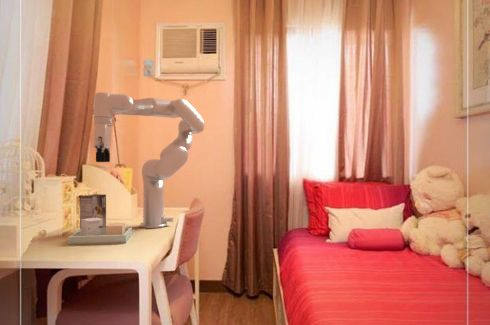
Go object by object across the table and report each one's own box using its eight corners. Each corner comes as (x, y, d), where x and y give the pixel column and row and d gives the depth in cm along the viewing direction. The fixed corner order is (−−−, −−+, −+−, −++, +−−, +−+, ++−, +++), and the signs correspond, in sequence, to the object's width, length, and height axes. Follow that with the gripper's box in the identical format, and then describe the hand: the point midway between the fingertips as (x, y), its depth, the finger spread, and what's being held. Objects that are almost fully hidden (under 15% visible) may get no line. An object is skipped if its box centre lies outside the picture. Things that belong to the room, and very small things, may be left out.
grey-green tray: (131, 234, 135) (131, 227, 135) (125, 243, 121) (125, 235, 121) (80, 236, 131) (80, 229, 131) (68, 245, 117) (68, 237, 117)
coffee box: (93, 229, 144) (93, 193, 144) (106, 230, 143) (106, 194, 142) (79, 234, 135) (79, 196, 135) (92, 235, 134) (93, 196, 133)
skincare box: (86, 240, 122) (86, 220, 122) (80, 237, 126) (80, 218, 126) (102, 237, 126) (103, 218, 126) (96, 235, 130) (96, 217, 130)
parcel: (125, 235, 131) (125, 222, 131) (122, 238, 125) (122, 225, 125) (109, 235, 129) (109, 223, 129) (105, 239, 124) (105, 226, 124)
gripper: (99, 124, 146) (99, 161, 146) (88, 119, 129) (87, 162, 129) (116, 124, 147) (116, 162, 148) (107, 119, 130) (107, 162, 130)
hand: (103, 162), depth 138 cm, fingers open, 9 cm apart
